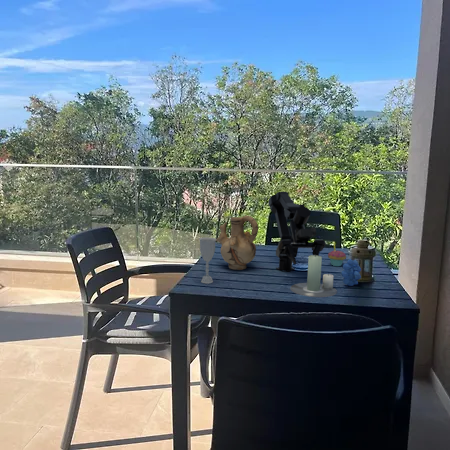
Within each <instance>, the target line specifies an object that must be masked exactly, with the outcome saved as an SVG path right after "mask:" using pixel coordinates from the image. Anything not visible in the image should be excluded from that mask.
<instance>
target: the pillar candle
mask: <svg viewBox="0 0 450 450" xmlns="http://www.w3.org/2000/svg"><path fill="white" fill-rule="evenodd" d="M322 259H323V257H322V255H321V256H320V255H319V256H317V255H313V254H311V255H308V260H307V261H308V263H307V278H306V280H307V281H306V283H307V290H309V291H319V290H320V284H321V280H322V279H321V276H322V262H323V261H322Z"/></svg>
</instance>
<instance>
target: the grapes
mask: <svg viewBox="0 0 450 450" xmlns="http://www.w3.org/2000/svg"><path fill="white" fill-rule="evenodd" d="M342 268H343V270H342V271H341V272H340V274H341V277H342V283H343V284H344V285H346V286H349V287H352V286H354V285H359V282H358V281H359V280H360V279H362V276H361V271H362V268H361V266H360V265H359V262H358V260H356V259H354V260H353V259H351V258H349V259H347V261H346V263H343V264H342Z"/></svg>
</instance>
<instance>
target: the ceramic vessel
mask: <svg viewBox="0 0 450 450" xmlns="http://www.w3.org/2000/svg"><path fill="white" fill-rule="evenodd" d="M246 222H248V223H249V224H250V225H251V232H250V231H245V229H244V226H245V223H246ZM227 224H228V223H227V221H226V222H224V223H223V224H220V226H219V229H220V233H219V236H218V237H217V238H215V239H216V241H215V242H217V243H220V245H221V247H220V255H221V257H222V258H223V260H224V262H225V263H228V264H227V265H228V268H229V269H230V270H236V271H240V270H241V271H242V270H245V269H247V264H249V263H251V261H253V260H254V258H255V257H256V253H257V246H256V244H255V243H254V242H255V240H256V238H257V236H258V234H259V225H258V222H257V221H256V219H255V218H253V217H252V216H250V215H244V216H240V217H239V216H238V217H237V216H233V217H230V224H231V225H230V227H231V228H230V236H229V237H228V233H227Z"/></svg>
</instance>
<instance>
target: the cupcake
mask: <svg viewBox="0 0 450 450" xmlns="http://www.w3.org/2000/svg"><path fill="white" fill-rule="evenodd" d="M332 243H333V250H331V251H329V252H328V254H327V258H329V261H330V265H331V266H332V265H333V267H342V266H343V262H344V260H346V259H347V254H346V253H345V252H343V251H341V250H336V241H334V240H333V242H332Z"/></svg>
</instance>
